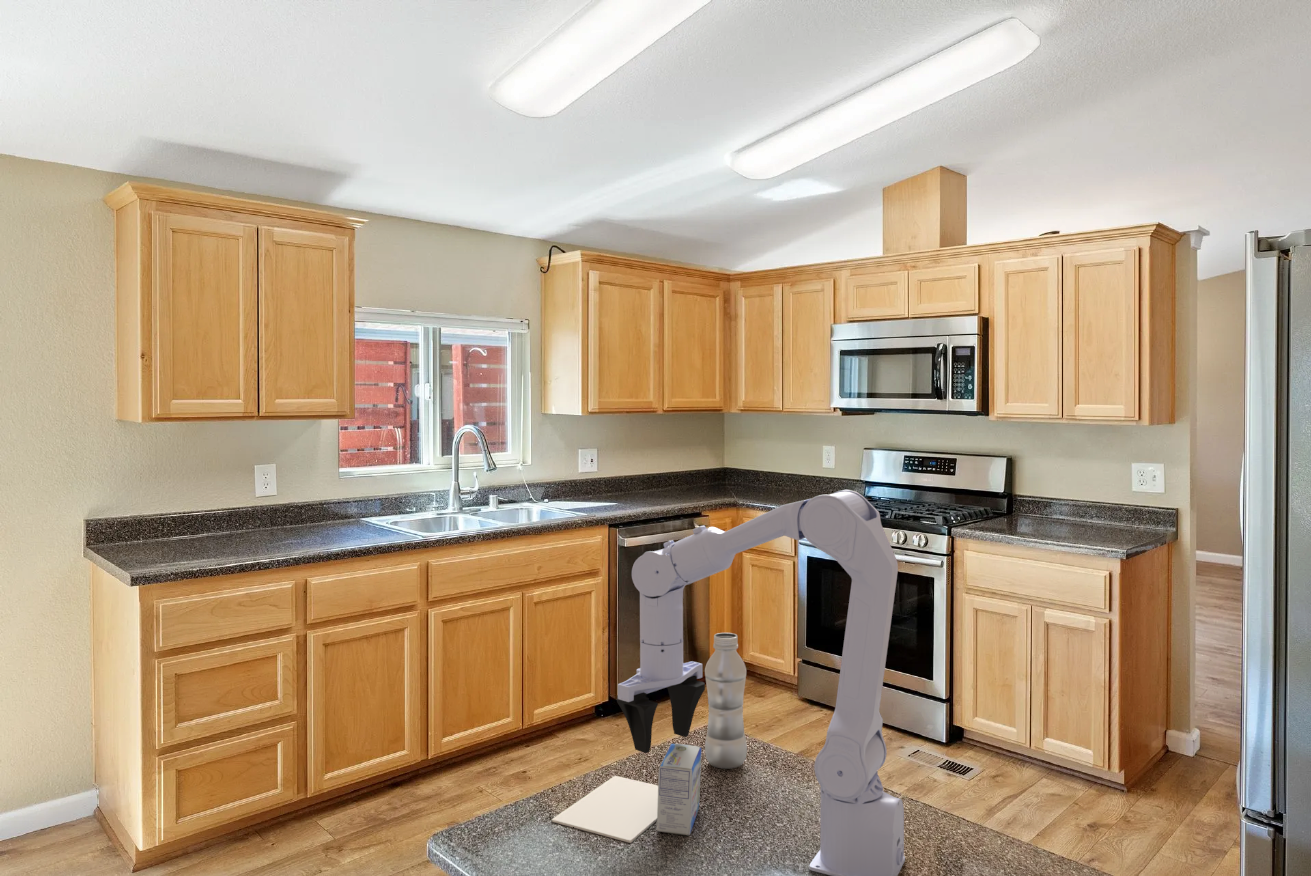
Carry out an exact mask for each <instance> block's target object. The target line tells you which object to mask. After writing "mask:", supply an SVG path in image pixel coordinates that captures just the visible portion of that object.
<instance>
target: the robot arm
mask: <svg viewBox="0 0 1311 876" xmlns="http://www.w3.org/2000/svg"><path fill="white" fill-rule="evenodd" d="M692 533H693V534H691V535H688V536H686V537H684V538H681V539H679V540H678V541H674V540H672V539H671V540H668V541H666V542H663V547H664V548H662V549H658V550H654V551H653V550H652V551H651V550H649V551H645V552H644V553H643V554H642V555H640V556H639V557H637V559H635V561H634V563H633V566H632V568H631V579H632V583H633V584H634V588H636V590H638V592H639V644H640V645H639V647H640V648H639V660H640V661H639V663H640V664H639V668H637V669H636V674H635V675H632V677H629V678H628V679H627V680H624V681H623V682H620V683H618V684H617V695H616V703H617V704H618V705H619V706H618V707H619V708H620V709H621V711H622V713H623V715H624V717H625V719H626V722H627V724H628V728H629V731H630V735H631V737H632V741H633V742H632V743H633V746H634V750H635V751H638V752H641V753H644V754H648V753H650V751H651V746H652V735H653V734H652V730H653V722H654V717H655V713H656V710H657V707H658V705H659V702H655V701H653V700H649V697H648V696H647V695H648V694H650V693H654V692H657V691H659V690H662V689H665V688H666V689H667V691H668V696H669V699H670V700H669V701H670V707H671V719H672V721H671V722H672V723H671V724H672V730H673V734H674V735H677V736H679V737H683V738H687V737H688V736H689V734H690V730H691V726H692V723H693V718H694V714H695V710H696V708H697V705H698V703H699V701H700V699H701V697H702V695H703V694H704V692H705V690H706V684H705V683H706V682H704V681H701V680H700V679H702V678H703V663H700V662H697V661H693V660H692V661H688V662H684V604H683V603H684V600H683V599H684V589H685V586H687V585H691V584H692V583H695V582H698V581H701V580H702V579H705V578H708V577H711V576H713V575H715V574H718V573H720V572H723V571H725V570H728V569H729V568H730V567H731V566H732V565H733V564H732V563H733V560H734V559H735V556H736V554H739V553H742V552H745V551H747V550H750V549H752V548H755V547H757V546H760V545H763V544H766V543H768V542H771V541H773V540H776V539H779V538H782V537H787V538H790V539H793V540H796V541H801V540H804V539H805V540H807V541H808V542H809V544H811V545H812V546H814V547H816V548H817V549H818V550H820V551H821V552H823V553H825V554H826V555H828V556H830V557H831V558H833V559H834V560H835V561H836V562H837V563H838V564H839V565H840V566H841V568H842V569H844V571H845V572H846V573H847V575H849V577H850V578H851V584H850V593H849V600H848V602H849V603H848V609H847V616H846V623H845V629H844V630H845V631H844V638H843V639H844V640H843V647H842V652H841V653H842V654H841V655H842V656H841V660H840V661H841V662H840V663H841V664H840V669H839V670H840V672H839V678H838V686H837V695H836V701H835V708H834V710H833V714H832V717H831V719H830V722H829V724H828V728H827V731H826V737H825V743H824V745H823V746H822V749H820V751H819V752H818V753H817V755H816V757H815V760H814V767H813V768H814V769H813V770H814V774H815V778H816V782H818V784H819V786H820V828H819V829H820V832H819V833H820V840H819V841H820V849H819V850H818V852H817V853H816V855H814V858H813V859H812V860H811V862H810V863H809V865H808V869H809V870H810V871H812V872H816V873H820V874H823V875H828V876H899V873H900V872H901V870H902V867H903V865H904V863H905V861H906V857H905V846H904V845H905V809H904V803H903V802H904V801H903V800H902V799H901V798H898V797H895V796H893V795H891V794H889V793H887V792H885V791H884V786H883V784H882V780H881V778H880V776H879V774H878V773H879V770H880V769H881V768H882V767H883V766H884V764H885V762H886V760H887V755H888V752H887V751H888V750H887V749H888V748H887V745H886V741H885V739H884V736H883V735H884V734H883V722H884V719H883V717H882V715H881V713H880V707H881V701H882V692H883V685H884V677H885V670H886V662H887V655H888V648H889V640H890V632H891V625H892V618H893V617H892V616H893V610H894V602H895V593H896V589H897V588H896V587H897V580H898V571H899V565H898V564H899V563H898V560H897V556H896V555H895V552H894V551H893V548H892V546H891V544H890V542H889V538H888V536H887V534H886V532H885V530H884V527H883V525H882V521H881V514H880V512H879V510H878V509H876V508H875V506H874V505H872V504H871V502H869V501H868V499H867V498H866V497H864V496H863V495H862V494H860V493H859V492H857V491H855V490H851V489H842V490H838V491H835V492H833V493H830V494H829V493H828V494H820V495H816V496H814V497H812V498H807V499H803V500H799V501H795V502H794V501H793V502H791V503H786V504H782V505H779V506H778V507H776V508H774V509H771V510H769V511H767V512H764V513H763V514H760V515H758V516H755V517H754V518H753V519H750V520H747V521H746V522H743V523H741V524H739V525H738V526H735V527H732V528H731V529H729V530H726V531H725V530H723V529H720V528H718V527H715V526H710V527H706V525H700V526H698V527H695V528H693V529H692ZM698 679H699V680H698Z"/></svg>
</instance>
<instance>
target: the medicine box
mask: <svg viewBox="0 0 1311 876" xmlns="http://www.w3.org/2000/svg"><path fill="white" fill-rule="evenodd" d="M701 769H702V747H700V746H699V745H698V746H697V745H691V744H683V743H682V744H681V743H671V744H670V745H669V747H668V750H667V752H666V753H665V755H664V758H663V759H662V762H661V763H660V765H659V767H658V779H657V784H658V806H657V821H656V831H658V832H662V833H666V834H667V833H668V834H676V835H682V836H690V835H691V833H692V830H693V827H694V824H695V821H696V818H697V815H698V811H699V809H700V797H701V793H700V792H701V771H702V770H701Z"/></svg>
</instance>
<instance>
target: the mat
mask: <svg viewBox="0 0 1311 876" xmlns="http://www.w3.org/2000/svg"><path fill="white" fill-rule="evenodd" d="M657 806H658V785H657V784H653V783H648V782H645V781H641V780H635V779H631V778H627V777H622V776H619V775H614V776H611V778H610V779H608V780H607V781H605V782H603V783H601V784H600V785H599V786H597V787H596V788H595V789H593V790H592V791H591V792H589V793H588V794H587V795H585V796H584V797H582V798H580V799H579V800H577V801H576V802H575V803H573V804H571V805H570V806H569V807H568V808H566V809H565V810H563V811H561V812H560V813H559V814H557V815H556V816H554V817H553V818H552V819H551V822H552V823H555V824H558V825H559V824H560V825H563V826H565V827H571V828H573V827H574V829H578V830H580V831H584V832H588V833H592V834H596V835H599V836H603V837H607V838H611V839H615V840H618V841H622V842H625V843H630V844H631V843H632V842H634V841H635V840H636V839H637V838H638V837H639V836H641V835H642V834H643V833H644V832H645V831H647V830H648V829H649V828H650V827H651V826H653V824H655V823H657Z"/></svg>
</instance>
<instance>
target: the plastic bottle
mask: <svg viewBox="0 0 1311 876" xmlns="http://www.w3.org/2000/svg"><path fill="white" fill-rule="evenodd" d="M738 638H739V637H738V634H736V633H732V632H720V633H719V632H718V633H715V634H714V635H713V645H712V647H713V649H714V652H713V653H712V654H711V656H710V657H709V658H708V660H707V662H706V665H705V668H704V676H705V683H706V684H705V686H706V690H707V692H706V693H707V703H708V718H707V719H708V720H707V733H706V737H705V743H704V754H705V758H706V760H707V762H708V763H709V765H711V767H714V768H718V769H722V770H723V769H724V770H725V769H728V770H729V769H731V770H732V769H735V768H739V767H741V766H742V765H743V764H744V762H745V761H746V758H747V753H748V746H747V739H746V735H745V734H746V733H745V725H744V714H743V713H744V706H743V705H744V698H745V697H744V694H745V686H746V680H747V679H746V677H747V667H746V664H745V662H744V660H743V658H742V657H741V656H740V653H738V652H737V650H738V649H739V643H738V641H739V640H738Z"/></svg>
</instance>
